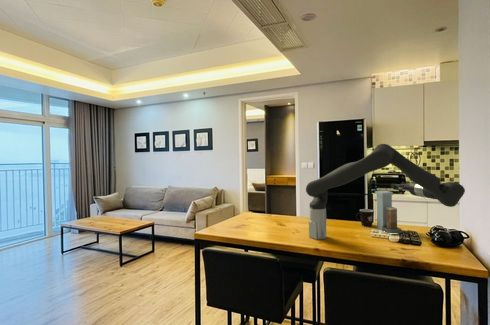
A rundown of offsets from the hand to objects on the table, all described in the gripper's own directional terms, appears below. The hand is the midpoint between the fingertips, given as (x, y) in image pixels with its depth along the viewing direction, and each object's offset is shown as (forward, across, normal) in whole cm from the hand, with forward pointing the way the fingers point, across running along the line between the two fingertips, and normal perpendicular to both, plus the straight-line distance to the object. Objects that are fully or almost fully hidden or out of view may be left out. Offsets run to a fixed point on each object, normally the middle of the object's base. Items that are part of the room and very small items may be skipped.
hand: (399, 185), depth 147 cm
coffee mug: (+29, +4, +30) cm, 42 cm away
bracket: (+11, -3, +30) cm, 32 cm away
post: (+18, -3, +30) cm, 35 cm away
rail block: (+11, -3, +30) cm, 32 cm away
